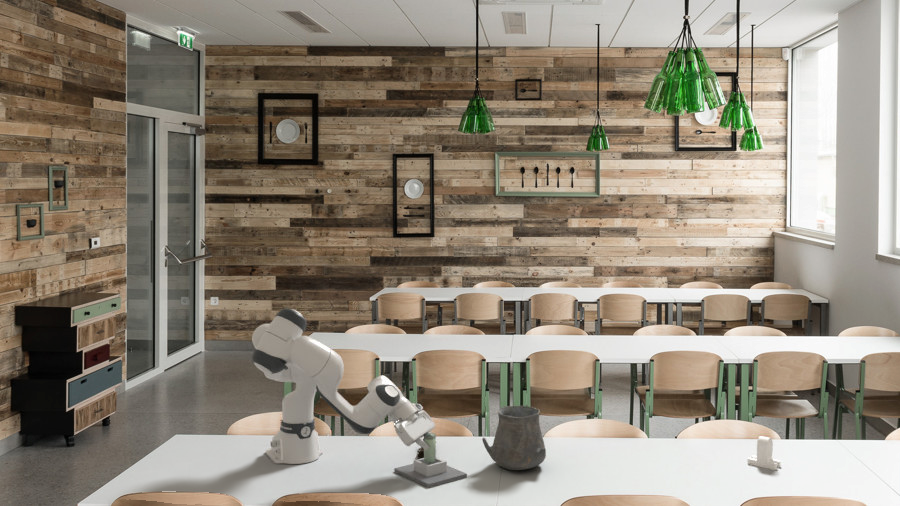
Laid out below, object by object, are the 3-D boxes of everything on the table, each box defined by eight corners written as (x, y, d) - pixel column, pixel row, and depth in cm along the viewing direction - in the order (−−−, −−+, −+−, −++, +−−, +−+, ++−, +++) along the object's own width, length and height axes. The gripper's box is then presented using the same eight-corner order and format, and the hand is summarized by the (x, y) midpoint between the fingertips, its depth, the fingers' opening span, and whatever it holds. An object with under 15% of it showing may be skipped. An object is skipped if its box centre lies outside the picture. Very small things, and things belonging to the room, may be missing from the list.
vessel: (558, 460, 292) (558, 405, 290) (538, 479, 272) (538, 420, 270) (501, 452, 301) (501, 399, 300) (478, 471, 281) (478, 413, 279)
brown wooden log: (428, 461, 292) (428, 449, 291) (417, 461, 292) (417, 448, 292) (435, 446, 311) (435, 434, 310) (424, 445, 311) (424, 433, 311)
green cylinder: (421, 461, 276) (421, 435, 276) (428, 458, 280) (428, 432, 279) (431, 463, 274) (431, 436, 273) (438, 460, 277) (437, 434, 277)
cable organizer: (775, 470, 280) (775, 441, 279) (746, 463, 286) (747, 435, 286) (780, 466, 284) (781, 438, 283) (752, 460, 290) (753, 432, 290)
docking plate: (394, 471, 281) (394, 458, 280) (431, 462, 290) (431, 449, 290) (428, 487, 265) (428, 473, 264) (466, 477, 274) (466, 463, 274)
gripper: (397, 417, 269) (425, 449, 266) (422, 403, 288) (448, 433, 285) (385, 429, 271) (413, 461, 268) (410, 414, 290) (436, 444, 287)
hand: (431, 446), depth 276 cm, fingers closed on green cylinder, 4 cm apart
